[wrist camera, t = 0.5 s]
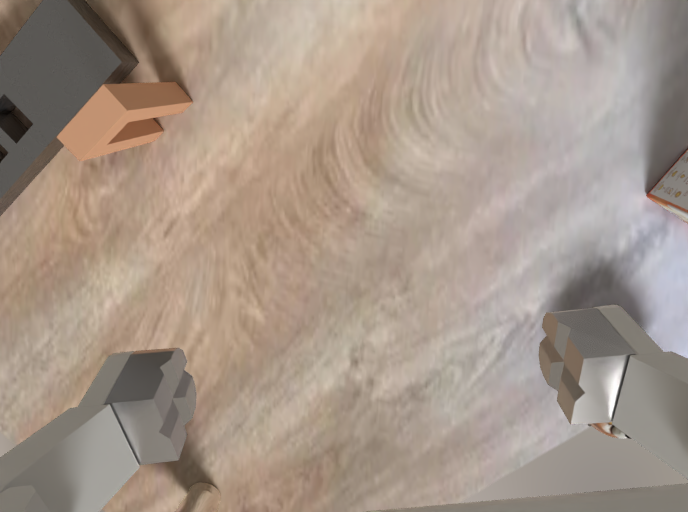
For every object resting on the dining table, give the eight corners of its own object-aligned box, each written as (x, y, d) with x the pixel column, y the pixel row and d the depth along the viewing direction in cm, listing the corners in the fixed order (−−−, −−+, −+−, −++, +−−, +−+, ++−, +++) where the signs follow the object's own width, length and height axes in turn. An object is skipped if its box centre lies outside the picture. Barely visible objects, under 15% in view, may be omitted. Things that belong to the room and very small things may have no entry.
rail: (-80, 188, 53) (-107, 195, 50) (76, -9, 44) (54, -15, 41) (-23, 241, 55) (-46, 250, 52) (138, 62, 45) (121, 61, 43)
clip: (136, 122, 47) (56, 136, 36) (175, 81, 46) (103, 84, 34) (154, 141, 48) (79, 161, 37) (193, 101, 46) (127, 110, 35)
